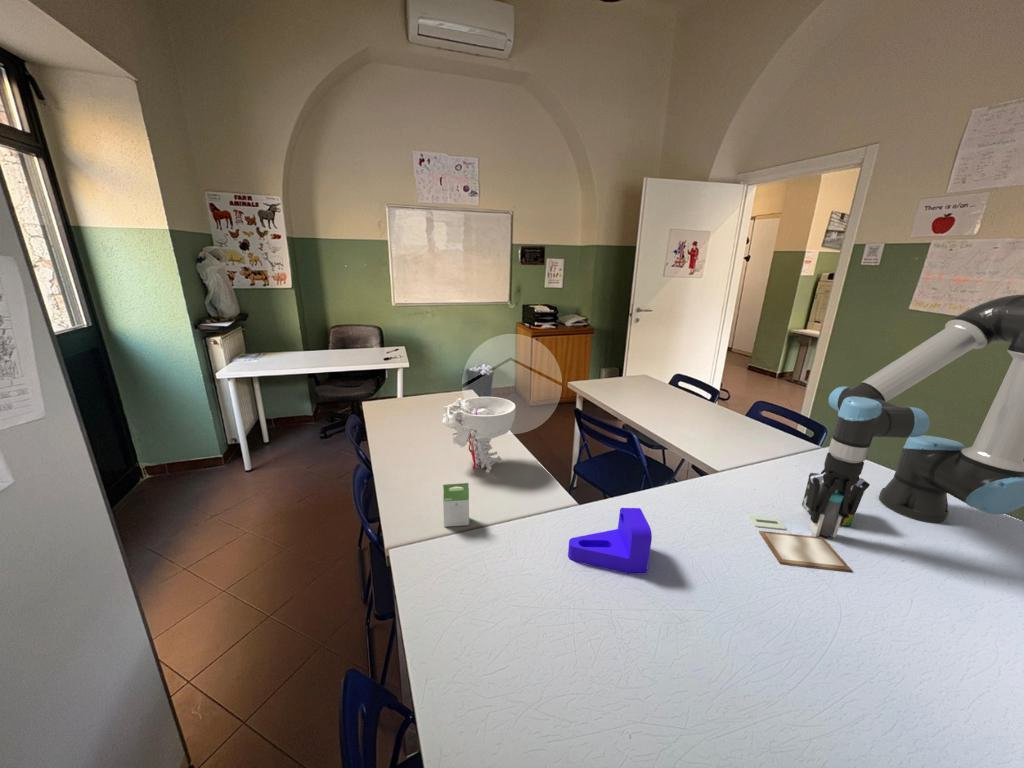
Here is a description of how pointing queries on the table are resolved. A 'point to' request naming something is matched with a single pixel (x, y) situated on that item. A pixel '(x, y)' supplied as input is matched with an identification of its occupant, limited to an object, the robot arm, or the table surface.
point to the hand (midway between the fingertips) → (822, 533)
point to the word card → (766, 522)
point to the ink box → (456, 504)
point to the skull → (479, 425)
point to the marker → (830, 514)
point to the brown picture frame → (804, 551)
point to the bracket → (616, 545)
